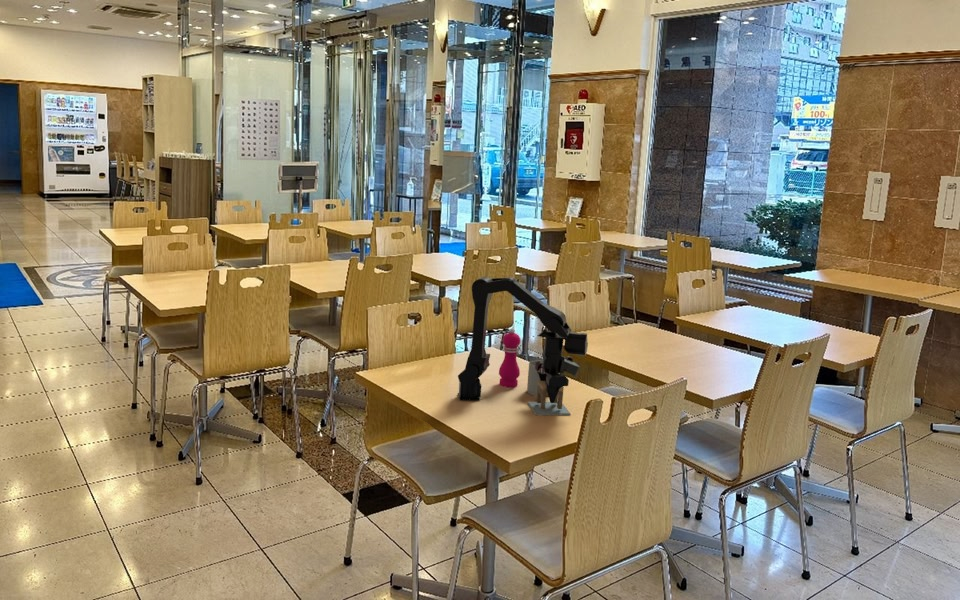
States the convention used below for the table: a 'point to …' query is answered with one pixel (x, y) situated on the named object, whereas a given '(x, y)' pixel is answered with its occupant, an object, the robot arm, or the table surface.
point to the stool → (543, 394)
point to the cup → (533, 378)
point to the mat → (548, 409)
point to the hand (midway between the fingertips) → (549, 399)
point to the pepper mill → (510, 360)
